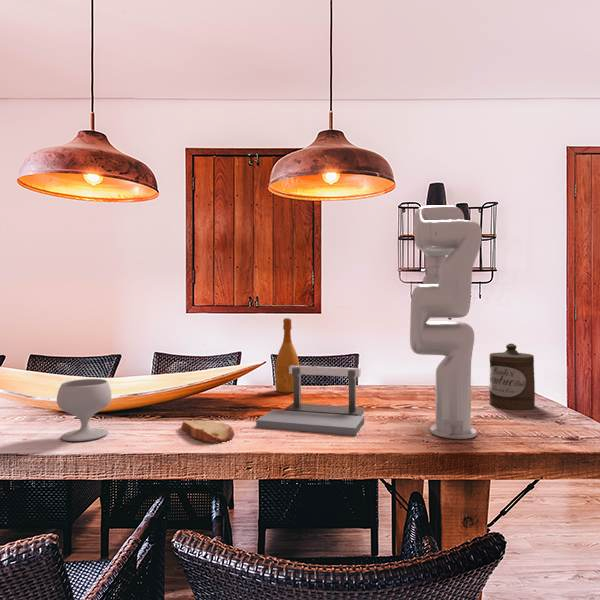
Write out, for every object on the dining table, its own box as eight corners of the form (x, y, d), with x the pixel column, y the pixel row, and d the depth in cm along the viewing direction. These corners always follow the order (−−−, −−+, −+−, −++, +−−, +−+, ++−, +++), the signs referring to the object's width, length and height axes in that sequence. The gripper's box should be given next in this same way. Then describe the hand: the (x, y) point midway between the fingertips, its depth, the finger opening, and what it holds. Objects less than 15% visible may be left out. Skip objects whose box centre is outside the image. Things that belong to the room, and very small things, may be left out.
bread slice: (184, 426, 148) (184, 413, 148) (243, 427, 146) (243, 415, 146) (161, 443, 130) (161, 429, 130) (227, 445, 128) (227, 431, 128)
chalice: (52, 434, 137) (51, 381, 137) (103, 426, 146) (103, 376, 146) (63, 447, 126) (62, 389, 126) (118, 437, 135) (118, 383, 135)
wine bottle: (303, 390, 202) (303, 318, 202) (291, 394, 194) (291, 319, 194) (283, 388, 207) (283, 317, 207) (270, 392, 199) (270, 318, 199)
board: (355, 435, 136) (355, 428, 136) (256, 426, 145) (256, 420, 145) (364, 422, 150) (364, 416, 150) (272, 415, 159) (272, 409, 159)
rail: (359, 377, 158) (359, 369, 158) (289, 373, 165) (289, 366, 165) (360, 375, 160) (360, 368, 160) (291, 372, 167) (291, 365, 167)
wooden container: (481, 404, 175) (481, 343, 175) (501, 399, 184) (501, 341, 184) (523, 412, 164) (523, 346, 163) (541, 405, 173) (541, 343, 173)
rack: (358, 419, 154) (358, 372, 154) (284, 413, 162) (283, 369, 162) (364, 412, 164) (364, 368, 164) (293, 407, 171) (293, 365, 171)
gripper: (412, 272, 176) (413, 319, 176) (462, 271, 173) (462, 320, 173) (411, 273, 183) (411, 319, 183) (458, 273, 181) (458, 319, 181)
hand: (436, 319), depth 178 cm, fingers open, 9 cm apart
